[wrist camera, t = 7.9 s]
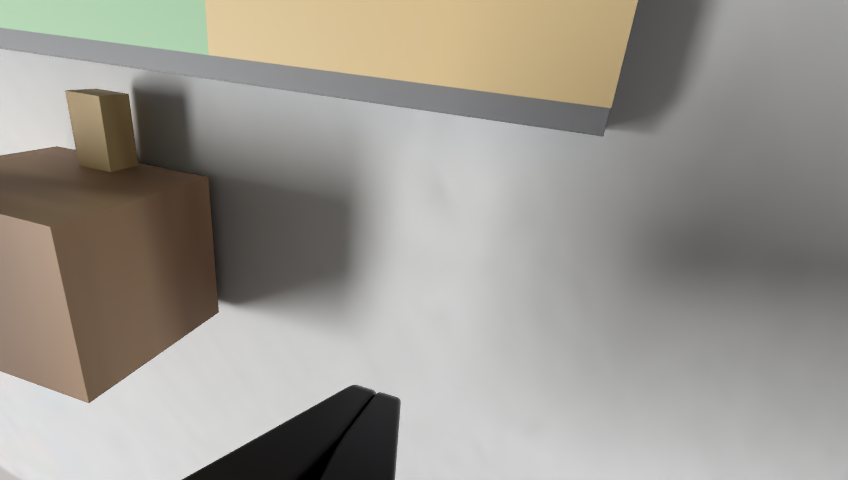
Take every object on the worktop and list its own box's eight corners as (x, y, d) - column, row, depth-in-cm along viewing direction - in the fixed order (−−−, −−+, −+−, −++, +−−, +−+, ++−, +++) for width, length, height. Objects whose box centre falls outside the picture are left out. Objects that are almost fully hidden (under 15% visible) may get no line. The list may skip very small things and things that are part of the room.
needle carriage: (202, 104, 11) (27, 124, 8) (218, 312, 13) (89, 403, 10) (43, 78, 12) (-173, 85, 9) (82, 273, 15) (-78, 342, 11)
